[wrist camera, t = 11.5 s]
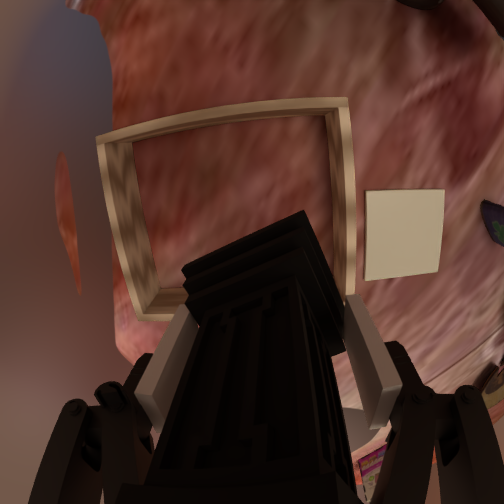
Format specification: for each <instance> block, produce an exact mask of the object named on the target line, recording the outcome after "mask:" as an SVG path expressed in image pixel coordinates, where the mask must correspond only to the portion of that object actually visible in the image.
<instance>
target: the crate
mask: <svg viewBox="0 0 504 504" xmlns="http://www.w3.org/2000/svg"><path fill="white" fill-rule="evenodd" d="M312 115H325V120H326V129H327V139H328V149H329V161H330V174H331V190H332V210H333V243H334V276H333V278H334V281H335V283H336V286H337V288H338V291H339V293H340V296H341V298H342V301H343V303H344V306H345V298H346V295H353V294H354V293H355V271H356V194H355V173H354V157H353V144H352V133H351V123H350V114H349V106H348V98H347V97H317V98H294V99H279V100H268V101H258V102H249V103H241V104H233V105H226V106H220V107H214V108H208V109H202V110H197V111H191V112H186V113H181V114H177V115H172V116H168V117H163V118H159V119H155V120H151V121H147V122H143V123H140V124H136V125H132V126H129V127H125V128H122V129H119V130H115V131H112V132H109V133H106V134H103V135H100V136H97V137H96V144H97V152H98V159H99V166H100V172H101V178H102V184H103V190H104V195H105V200H106V205H107V210H108V215H109V220H110V224H111V228H112V233H113V237H114V241H115V245H116V249H117V253H118V257H119V260H120V264H121V268H122V271H123V275H124V278H125V281H126V285H127V288H128V291H129V294H130V297H131V301H132V304H133V307H134V310H135V313H136V316H137V318H138V321H171V320H172V318H173V316H174V314H175V312H176V310H177V309H178V307H179V305H180V304H184V303H185V301H186V299H187V297H188V296H189V295H188V293H187V292H186V290H185V289H184V288H165V289H161V287H160V283H159V279H158V275H157V271H156V267H155V263H154V259H153V255H152V251H151V246H150V242H149V238H148V233H147V228H146V223H145V219H144V214H143V208H142V203H141V198H140V192H139V186H138V180H137V174H136V168H135V161H134V154H133V147H132V142H136V141H140V140H144V139H148V138H152V137H156V136H161V135H165V134H170V133H175V132H180V131H185V130H190V129H195V128H201V127H207V126H213V125H219V124H226V123H233V122H241V121H249V120H258V119H268V118H280V117H294V116H312Z"/></svg>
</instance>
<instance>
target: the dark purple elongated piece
mask: <svg viewBox="0 0 504 504" xmlns="http://www.w3.org/2000/svg"><path fill="white" fill-rule="evenodd" d="M480 206H481V208H480V209H481V214H482V218H483V220H484V224H485V226H486V228H487V230H488V232H489V234H490V236H491V238H492V239H493V240H494V241H495V242H496V243H498V244H500V245H501V246H503V247H504V207H503V206H501V205H499V204H495V203H492V202H490V201H487V200H485V199H484V201H482V202H481V205H480Z"/></svg>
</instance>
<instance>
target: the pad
mask: <svg viewBox="0 0 504 504" xmlns="http://www.w3.org/2000/svg"><path fill="white" fill-rule="evenodd" d="M444 193H445V190H444V189H392V190H365V259H364V280H365V281H369V280H378V279H386V278H394V277H402V276H410V275H417V274H424V273H432V272H438V265H439V258H440V250H441V241H442V230H443V216H444Z"/></svg>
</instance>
